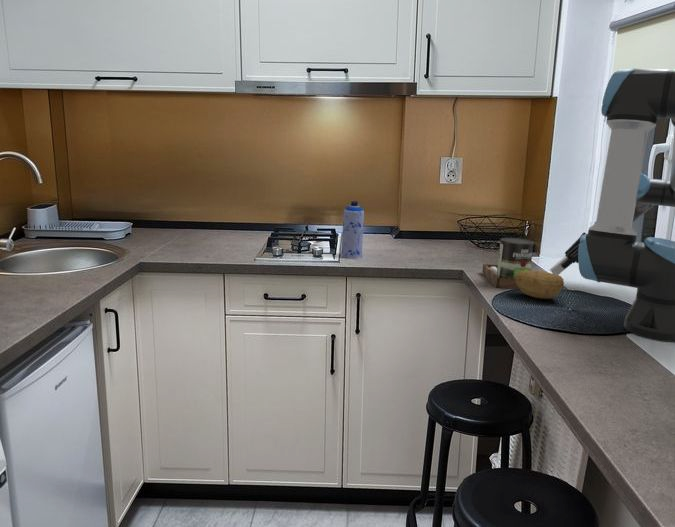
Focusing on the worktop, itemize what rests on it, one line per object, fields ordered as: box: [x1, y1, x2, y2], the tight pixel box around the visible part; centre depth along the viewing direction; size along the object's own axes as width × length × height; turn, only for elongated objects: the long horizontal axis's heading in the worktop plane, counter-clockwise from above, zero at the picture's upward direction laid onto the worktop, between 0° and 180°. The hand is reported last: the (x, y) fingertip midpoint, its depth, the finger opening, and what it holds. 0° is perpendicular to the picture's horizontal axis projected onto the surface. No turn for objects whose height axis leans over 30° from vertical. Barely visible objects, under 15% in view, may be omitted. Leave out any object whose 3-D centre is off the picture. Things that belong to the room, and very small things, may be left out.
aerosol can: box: [340, 200, 365, 260], centre depth 225 cm, size 8×8×20 cm
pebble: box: [490, 266, 497, 275], centre depth 210 cm, size 3×3×3 cm
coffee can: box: [496, 237, 535, 279], centre depth 199 cm, size 10×10×14 cm
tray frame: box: [482, 263, 520, 290], centre depth 204 cm, size 19×14×3 cm
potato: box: [515, 269, 565, 300], centre depth 185 cm, size 10×14×8 cm
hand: (552, 272), depth 201 cm, fingers closed
